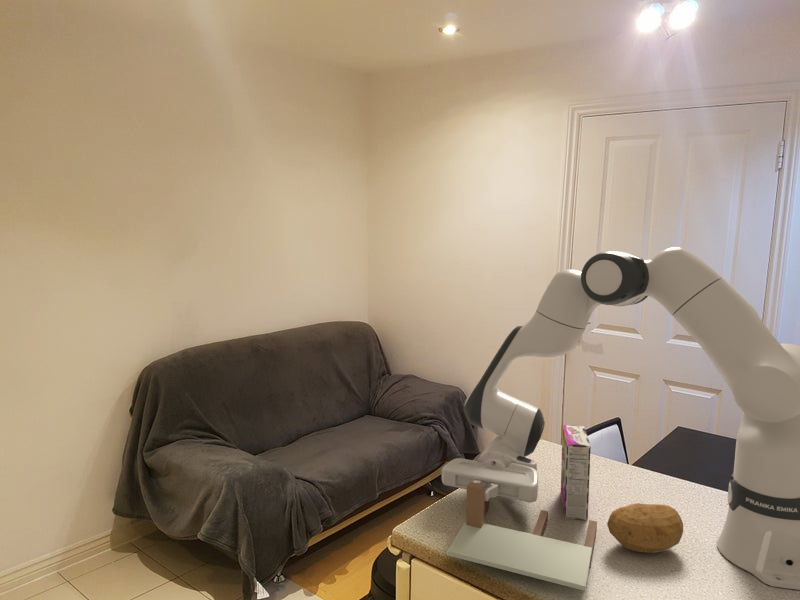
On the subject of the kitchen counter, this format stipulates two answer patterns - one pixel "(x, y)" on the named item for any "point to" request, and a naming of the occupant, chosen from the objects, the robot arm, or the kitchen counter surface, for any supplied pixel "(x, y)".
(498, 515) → the kitchen counter surface
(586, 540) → the frame
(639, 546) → the potato
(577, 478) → the candy bar box
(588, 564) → the lid
